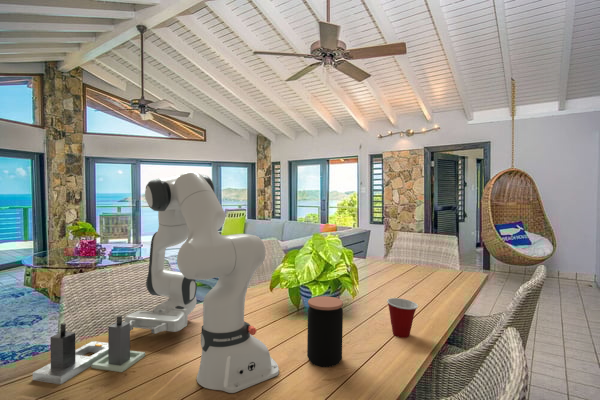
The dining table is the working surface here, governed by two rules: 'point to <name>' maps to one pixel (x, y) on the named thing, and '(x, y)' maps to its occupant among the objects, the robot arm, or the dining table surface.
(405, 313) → the plastic cup
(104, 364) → the tray
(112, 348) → the plug
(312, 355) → the coffee jar
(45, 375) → the pillar on holed base
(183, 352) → the dining table surface
